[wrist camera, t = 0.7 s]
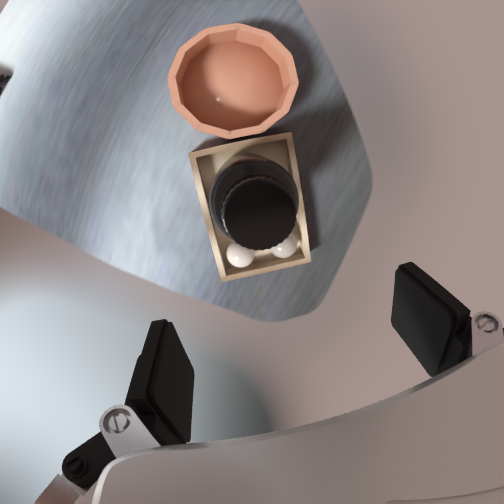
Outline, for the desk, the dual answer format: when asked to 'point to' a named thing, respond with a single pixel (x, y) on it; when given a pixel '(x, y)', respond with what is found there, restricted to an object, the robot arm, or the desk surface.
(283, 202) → the supplement bottle
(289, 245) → the pebble
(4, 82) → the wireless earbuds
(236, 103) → the bowl
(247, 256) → the pebble
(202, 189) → the tray
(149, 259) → the desk surface
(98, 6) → the desk surface
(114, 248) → the desk surface
